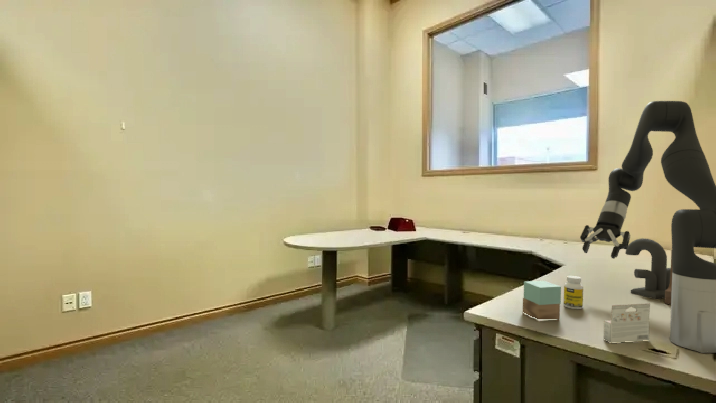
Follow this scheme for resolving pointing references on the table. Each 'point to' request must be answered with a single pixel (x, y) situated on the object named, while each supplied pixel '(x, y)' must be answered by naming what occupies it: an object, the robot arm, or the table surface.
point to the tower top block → (542, 292)
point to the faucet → (659, 273)
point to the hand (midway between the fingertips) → (598, 254)
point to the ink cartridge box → (628, 323)
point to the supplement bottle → (573, 293)
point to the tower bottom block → (541, 310)
